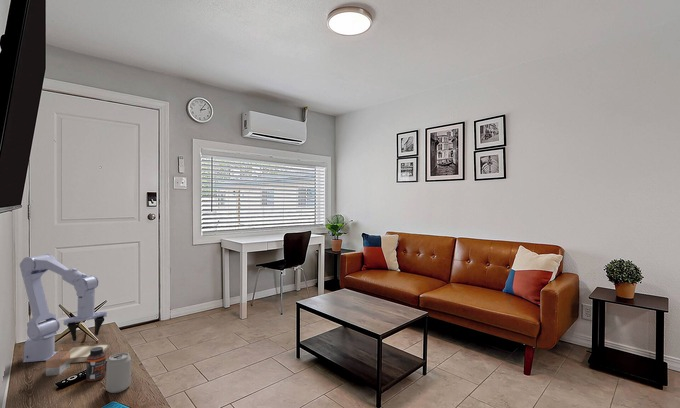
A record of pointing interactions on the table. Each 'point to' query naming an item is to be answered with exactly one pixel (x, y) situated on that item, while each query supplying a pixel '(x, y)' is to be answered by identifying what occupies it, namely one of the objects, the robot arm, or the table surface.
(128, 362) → the can
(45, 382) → the table surface
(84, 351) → the stand board
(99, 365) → the supplement bottle
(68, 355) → the housing
